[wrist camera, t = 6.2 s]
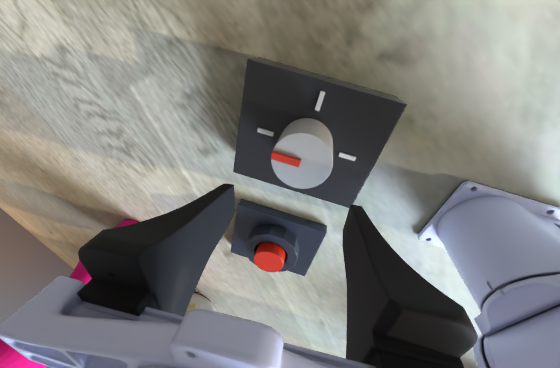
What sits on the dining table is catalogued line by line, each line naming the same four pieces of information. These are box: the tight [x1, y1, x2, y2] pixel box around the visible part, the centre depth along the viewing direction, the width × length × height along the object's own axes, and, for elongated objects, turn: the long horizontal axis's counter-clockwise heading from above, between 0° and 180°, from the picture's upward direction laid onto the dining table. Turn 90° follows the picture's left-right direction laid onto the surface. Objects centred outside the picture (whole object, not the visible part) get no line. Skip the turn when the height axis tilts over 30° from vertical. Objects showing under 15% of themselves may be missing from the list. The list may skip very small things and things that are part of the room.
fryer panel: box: [233, 57, 407, 208], centre depth 20 cm, size 12×10×3 cm
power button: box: [254, 242, 285, 272], centre depth 27 cm, size 4×4×2 cm
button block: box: [231, 199, 327, 276], centre depth 28 cm, size 11×9×3 cm
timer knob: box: [271, 118, 333, 189], centre depth 17 cm, size 4×4×4 cm
